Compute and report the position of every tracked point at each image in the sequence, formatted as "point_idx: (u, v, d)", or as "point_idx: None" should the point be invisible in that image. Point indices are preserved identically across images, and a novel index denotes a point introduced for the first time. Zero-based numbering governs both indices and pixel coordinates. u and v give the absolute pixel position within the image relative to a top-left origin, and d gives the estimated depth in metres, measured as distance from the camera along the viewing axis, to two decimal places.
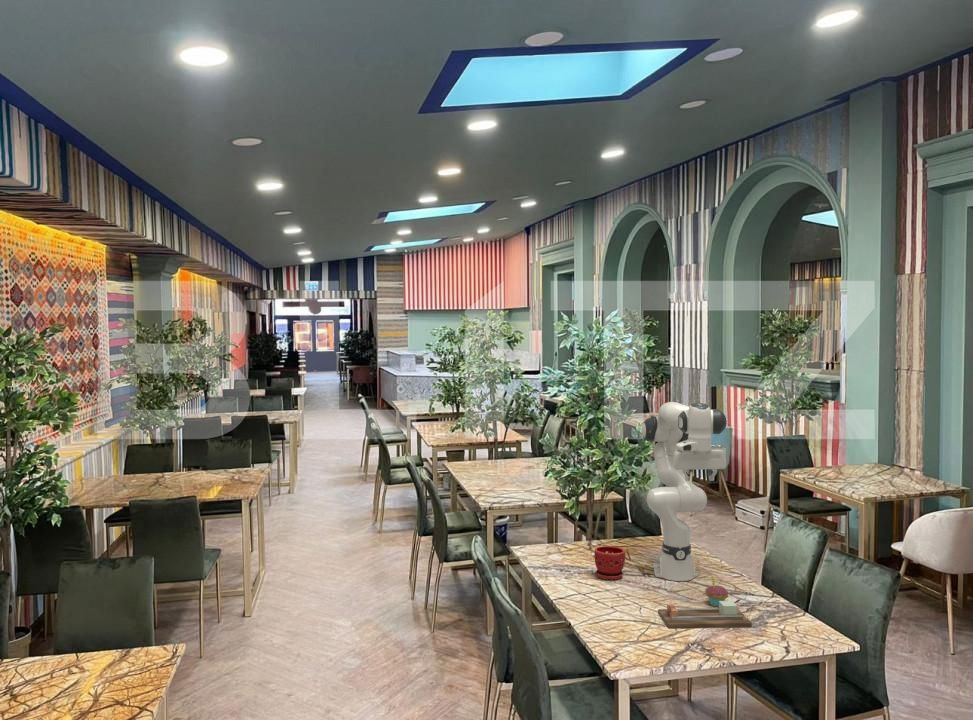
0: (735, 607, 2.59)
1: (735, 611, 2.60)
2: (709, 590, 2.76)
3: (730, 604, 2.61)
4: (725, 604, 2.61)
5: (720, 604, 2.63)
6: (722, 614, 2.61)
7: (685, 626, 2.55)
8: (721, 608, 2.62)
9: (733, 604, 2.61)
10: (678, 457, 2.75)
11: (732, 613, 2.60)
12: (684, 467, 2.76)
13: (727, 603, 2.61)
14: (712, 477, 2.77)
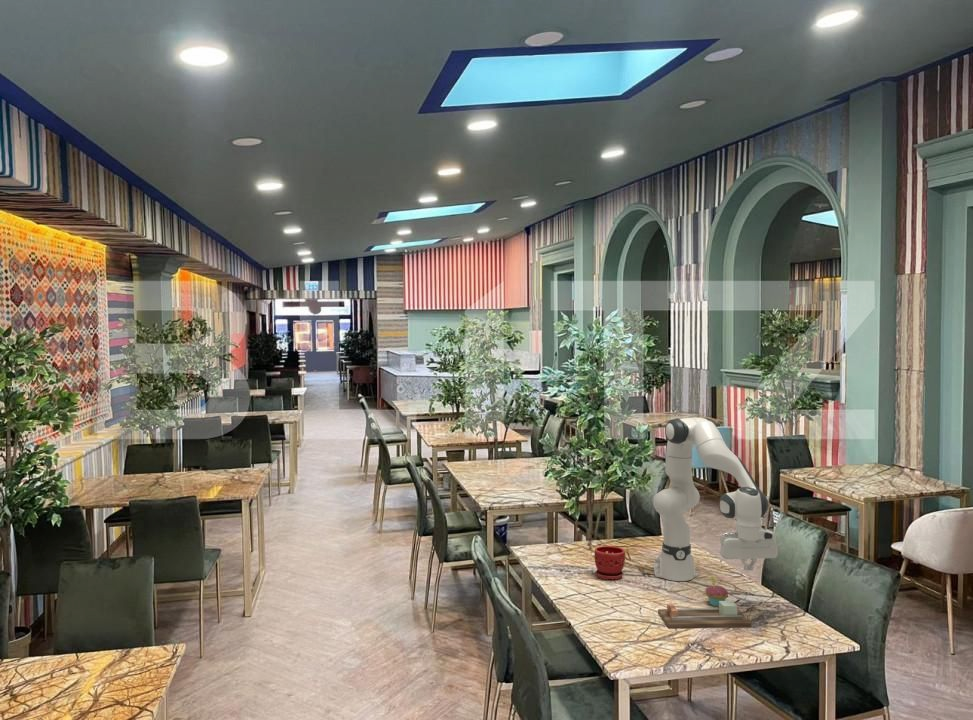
0: (735, 607, 2.59)
1: (735, 611, 2.60)
2: (709, 590, 2.76)
3: (730, 604, 2.61)
4: (725, 604, 2.61)
5: (720, 604, 2.63)
6: (722, 614, 2.61)
7: (685, 626, 2.55)
8: (721, 608, 2.62)
9: (733, 604, 2.61)
10: None
11: (732, 613, 2.60)
12: None
13: (727, 603, 2.61)
14: None
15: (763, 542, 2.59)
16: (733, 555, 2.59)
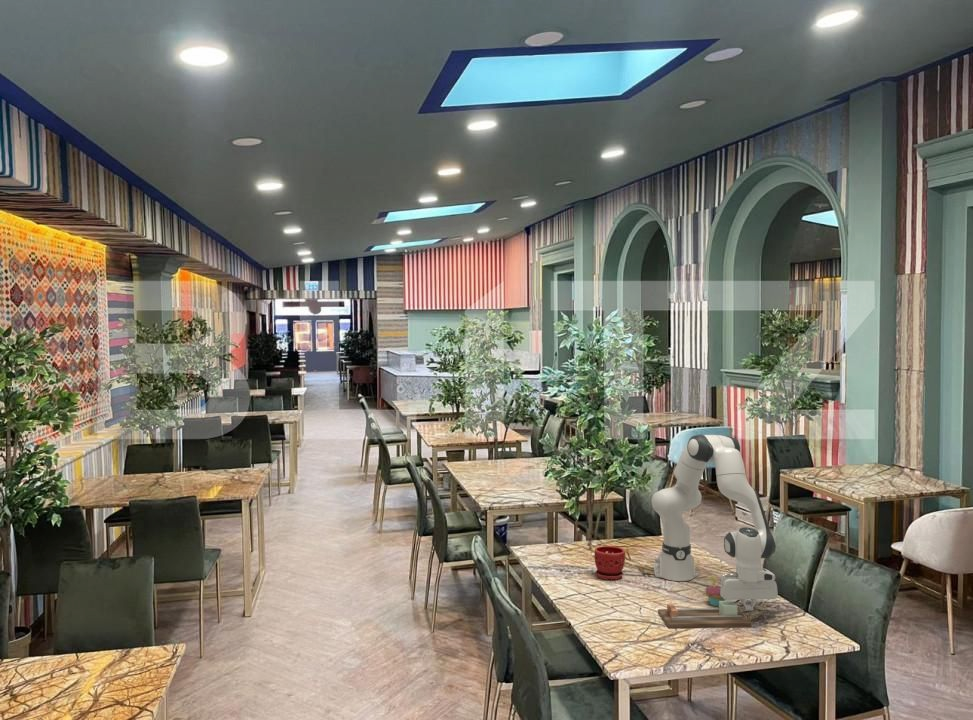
0: (735, 607, 2.59)
1: (735, 611, 2.60)
2: (709, 590, 2.76)
3: (730, 604, 2.61)
4: (725, 604, 2.61)
5: (720, 604, 2.63)
6: (722, 614, 2.61)
7: (685, 626, 2.55)
8: (721, 608, 2.62)
9: (733, 604, 2.61)
10: None
11: (732, 613, 2.60)
12: None
13: (727, 603, 2.61)
14: None
15: (763, 583, 2.59)
16: (733, 596, 2.60)
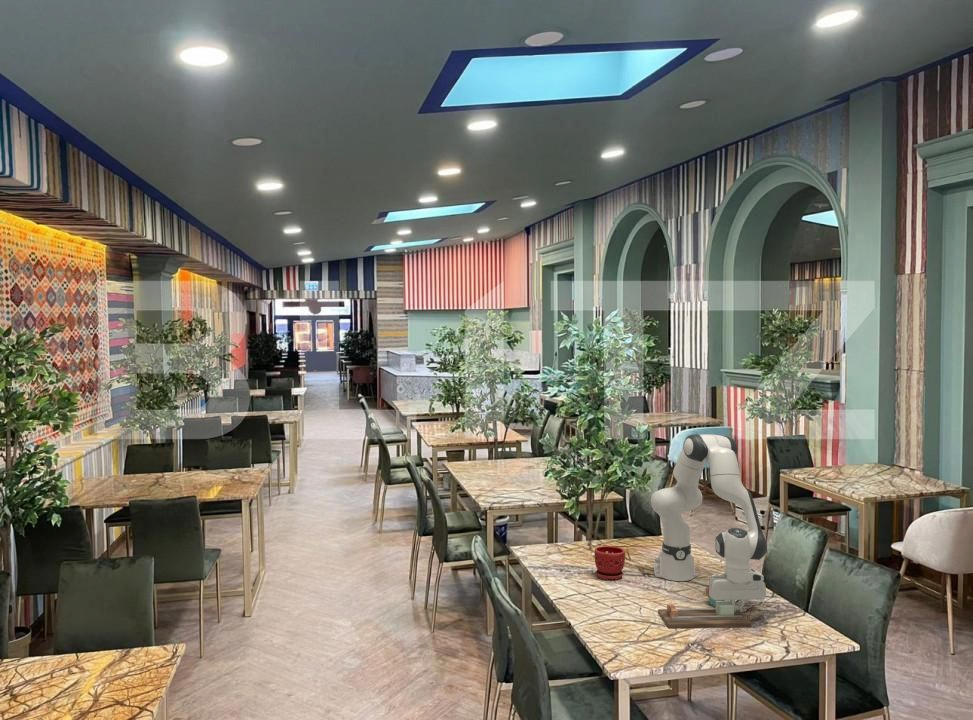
0: (732, 607, 2.59)
1: (732, 611, 2.59)
2: None
3: (727, 604, 2.61)
4: (722, 604, 2.61)
5: (717, 604, 2.63)
6: (719, 614, 2.61)
7: (685, 626, 2.55)
8: (717, 608, 2.62)
9: (730, 604, 2.61)
10: None
11: (729, 613, 2.59)
12: None
13: (724, 603, 2.61)
14: None
15: (752, 583, 2.59)
16: (721, 597, 2.60)
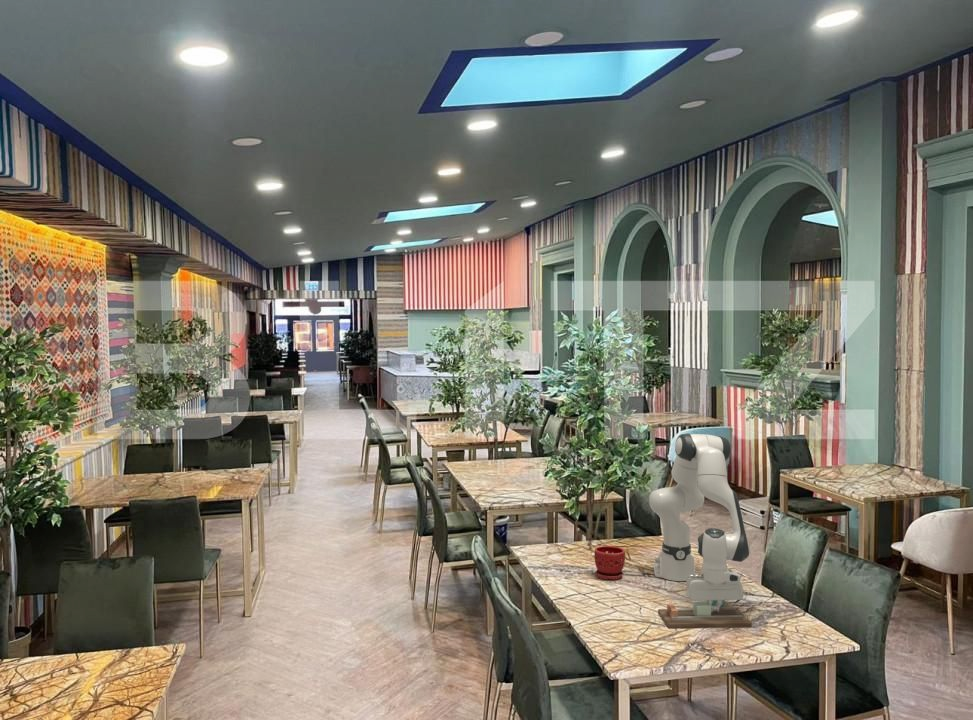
0: (709, 607, 2.59)
1: (709, 611, 2.59)
2: None
3: (704, 604, 2.61)
4: (699, 604, 2.61)
5: (694, 604, 2.63)
6: (696, 614, 2.61)
7: (685, 626, 2.55)
8: (694, 608, 2.62)
9: (707, 604, 2.61)
10: None
11: (706, 613, 2.59)
12: None
13: (701, 604, 2.61)
14: None
15: (728, 584, 2.59)
16: (698, 597, 2.60)
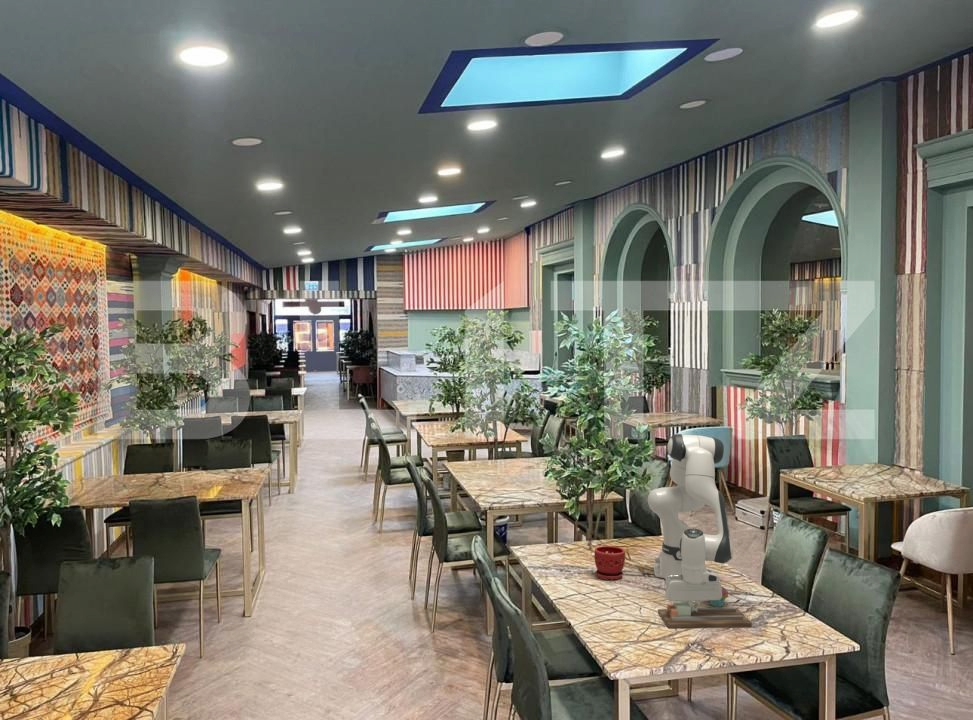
0: (688, 608, 2.59)
1: (688, 612, 2.59)
2: None
3: (684, 605, 2.60)
4: (679, 605, 2.60)
5: (674, 605, 2.62)
6: None
7: (685, 626, 2.55)
8: None
9: (687, 605, 2.60)
10: None
11: (685, 614, 2.59)
12: None
13: (681, 604, 2.61)
14: None
15: (707, 584, 2.59)
16: (677, 598, 2.59)
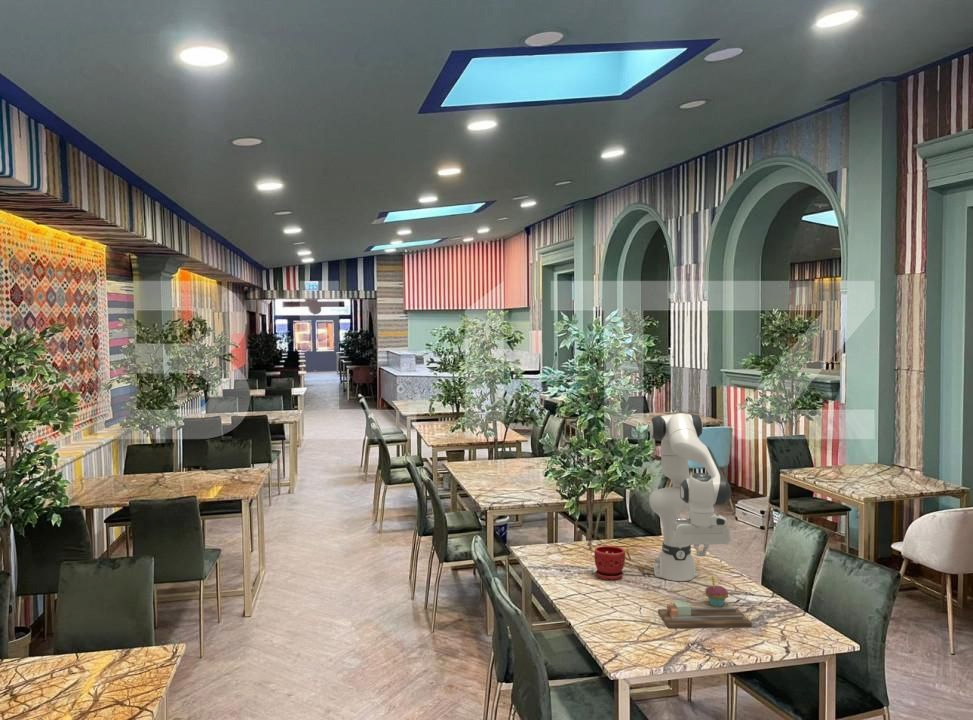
0: (689, 608, 2.59)
1: (689, 612, 2.59)
2: (709, 590, 2.76)
3: (684, 605, 2.60)
4: (679, 605, 2.60)
5: (674, 605, 2.62)
6: None
7: (685, 626, 2.55)
8: None
9: (687, 605, 2.60)
10: None
11: (686, 614, 2.59)
12: None
13: (681, 604, 2.61)
14: None
15: (715, 528, 2.58)
16: (685, 541, 2.59)
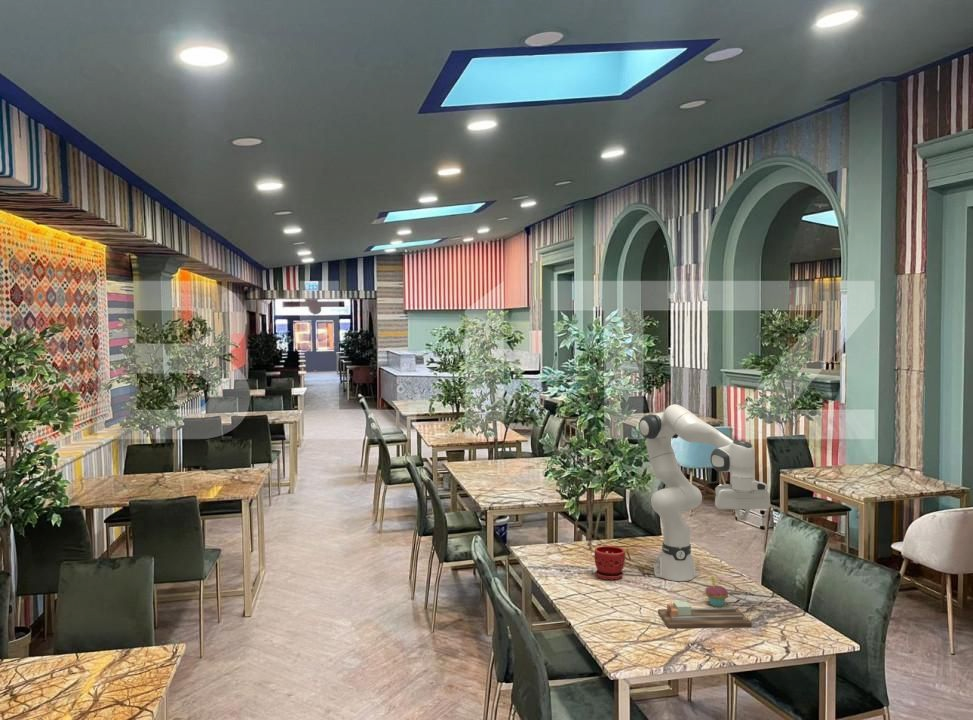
0: (689, 608, 2.59)
1: (689, 612, 2.59)
2: (709, 590, 2.76)
3: (684, 605, 2.60)
4: (679, 605, 2.60)
5: (674, 605, 2.62)
6: None
7: (685, 626, 2.55)
8: None
9: (687, 605, 2.60)
10: None
11: (686, 614, 2.59)
12: None
13: (681, 604, 2.61)
14: None
15: (756, 493, 2.69)
16: (727, 506, 2.69)
